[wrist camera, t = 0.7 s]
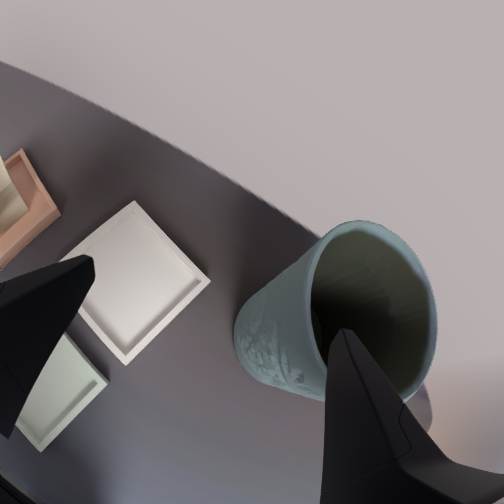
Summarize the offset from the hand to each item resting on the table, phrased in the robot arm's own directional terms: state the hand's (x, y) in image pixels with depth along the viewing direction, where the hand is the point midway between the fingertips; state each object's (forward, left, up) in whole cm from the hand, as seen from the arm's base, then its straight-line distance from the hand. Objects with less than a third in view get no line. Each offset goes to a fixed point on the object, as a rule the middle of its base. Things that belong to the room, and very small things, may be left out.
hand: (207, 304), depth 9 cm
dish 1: (-6, +18, -13) cm, 23 cm away
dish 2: (-11, +5, -13) cm, 17 cm away
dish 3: (0, +5, -13) cm, 14 cm away
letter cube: (-6, +18, -12) cm, 22 cm away
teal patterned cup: (+6, -7, -13) cm, 16 cm away
